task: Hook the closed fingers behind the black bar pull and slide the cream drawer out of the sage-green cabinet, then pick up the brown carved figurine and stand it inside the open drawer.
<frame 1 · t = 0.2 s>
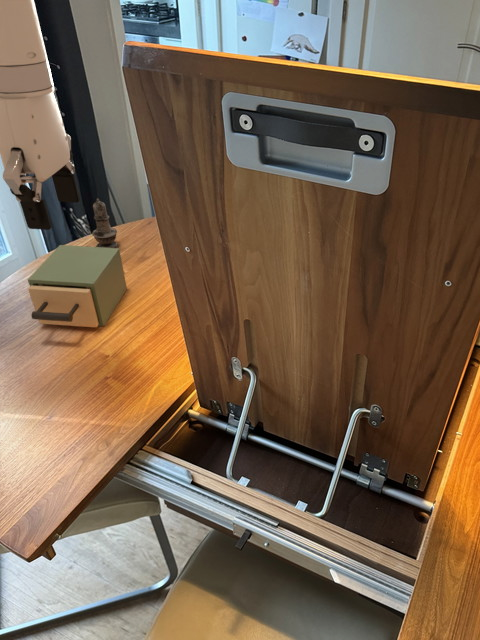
hand: (55, 214, 74), 28 cm above the table, tool pointing down, fingers open, 9 cm apart
cabinet: (86, 304, 107), on the table
drawer: (72, 296, 101), point 5 cm above the table, slide at 0.5 cm
brown carved figurine: (107, 246, 128), on the table
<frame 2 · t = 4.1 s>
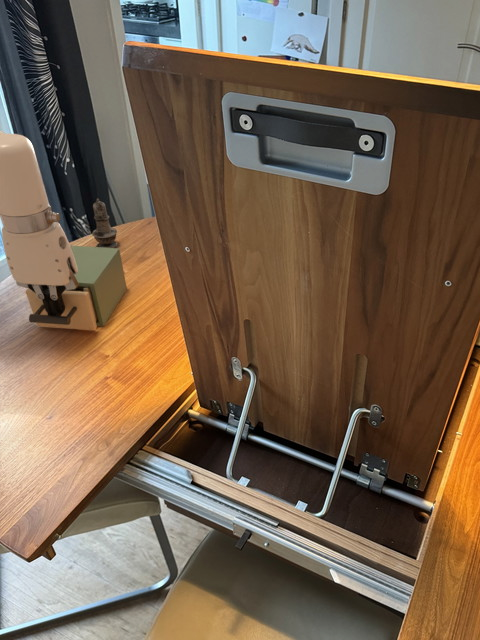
hand: (57, 314, 95), 5 cm above the table, tool pointing down, fingers closed
drawer: (70, 299, 100), point 5 cm above the table, slide at 1.5 cm
everything else where it was.
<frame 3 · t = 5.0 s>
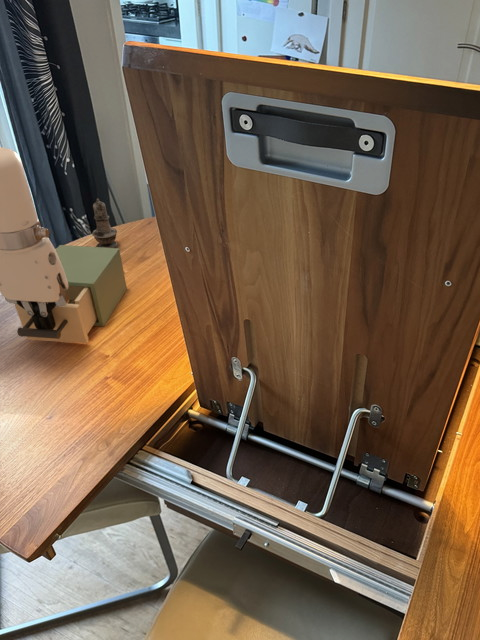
hand: (47, 330, 92), 5 cm above the table, tool pointing down, fingers closed
drawer: (60, 311, 97), point 5 cm above the table, slide at 5.8 cm, touching gripper
everything else where it was.
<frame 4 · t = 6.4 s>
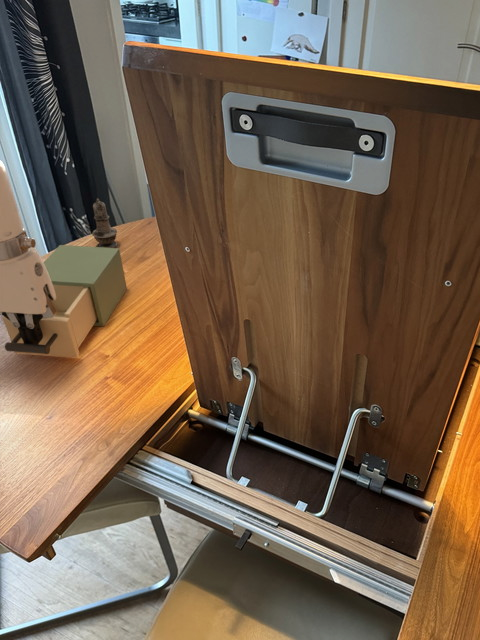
hand: (34, 342, 89), 5 cm above the table, tool pointing down, fingers closed
drawer: (50, 324, 93), point 5 cm above the table, slide at 10.1 cm
everything else where it was.
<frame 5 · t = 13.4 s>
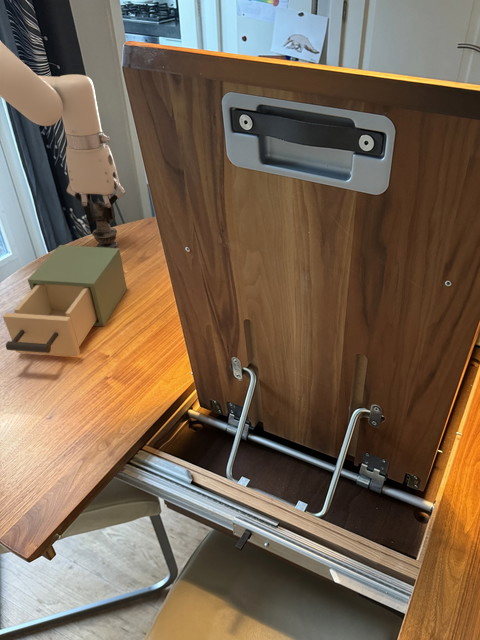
hand: (102, 220, 124), 7 cm above the table, tool pointing down, fingers closed on brown carved figurine, 3 cm apart
brown carved figurine: (107, 246, 128), on the table, touching gripper
everything else where it was.
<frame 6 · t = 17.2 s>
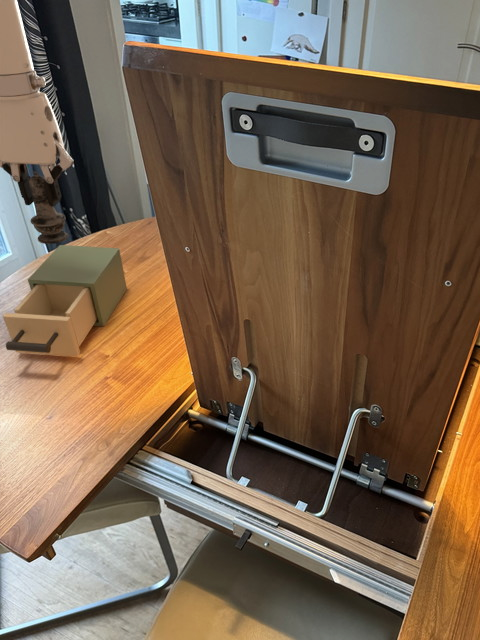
hand: (43, 201, 90), 23 cm above the table, tool pointing down, fingers closed on brown carved figurine, 3 cm apart
brown carved figurine: (53, 238, 94), point 16 cm above the table, touching gripper
everything else where it was.
when the fingers open (9 cm above the table, at t = 21.3 s): brown carved figurine stays where it is, resting on drawer.
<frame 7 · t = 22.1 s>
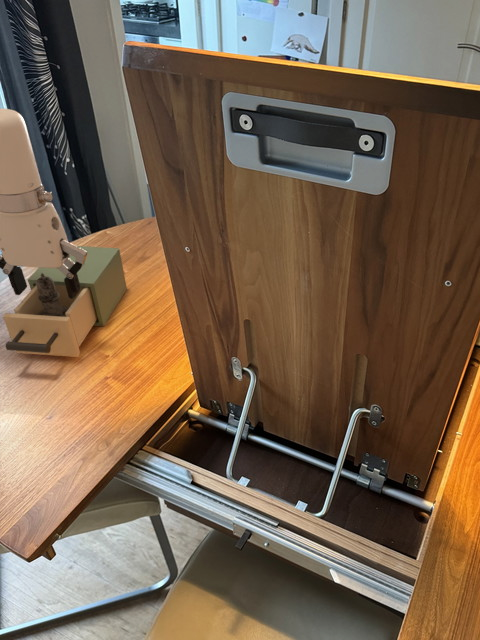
hand: (48, 293, 92), 10 cm above the table, tool pointing down, fingers open, 9 cm apart
drawer: (51, 323, 93), point 5 cm above the table, slide at 9.9 cm, touching brown carved figurine
brown carved figurine: (59, 331, 97), point 2 cm above the table, touching drawer
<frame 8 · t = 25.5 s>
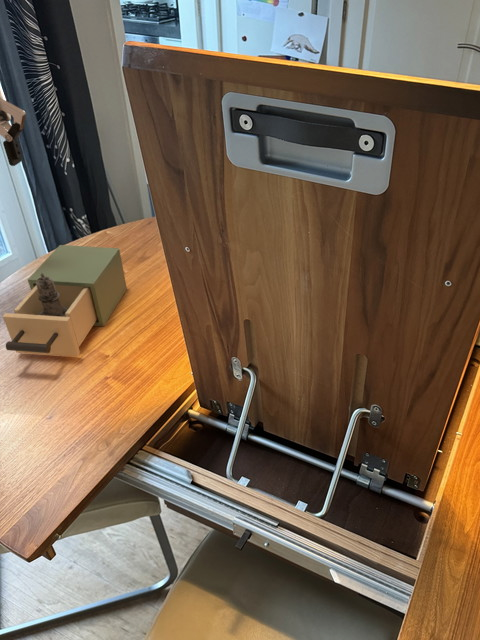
nothing on the table moved.
at the end: drawer slide at 9.9 cm; brown carved figurine inside the target area in the drawer (0.1 cm from its centre), point 1.8 cm above the cabinet's base; brown carved figurine tilted 0° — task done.
